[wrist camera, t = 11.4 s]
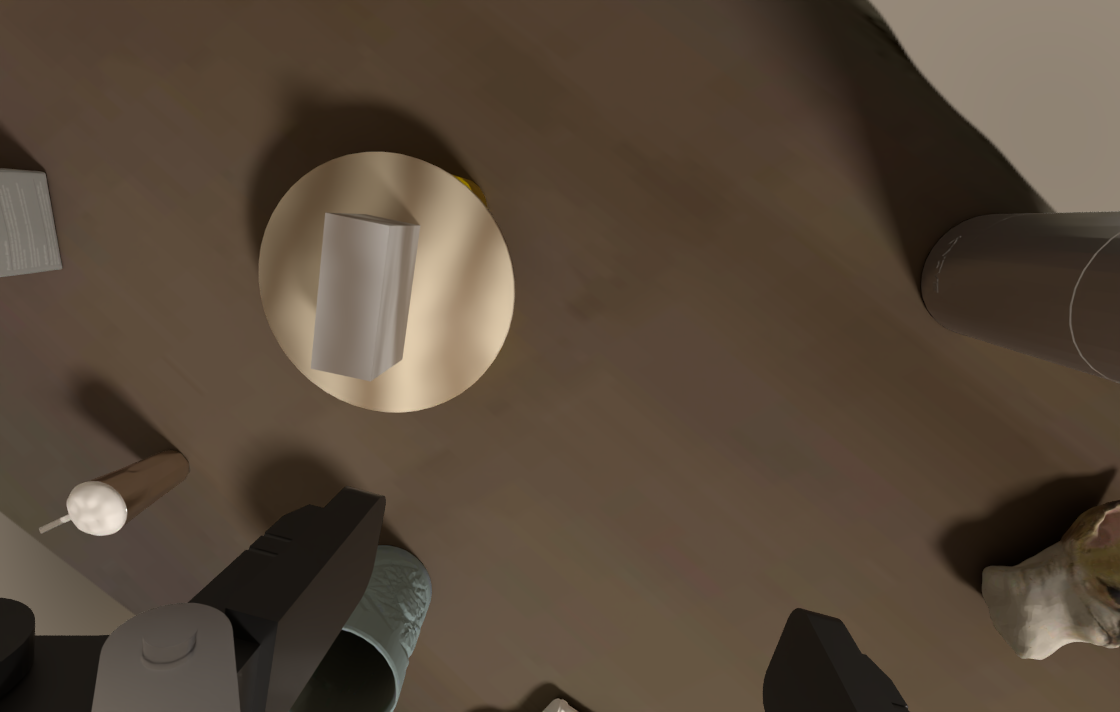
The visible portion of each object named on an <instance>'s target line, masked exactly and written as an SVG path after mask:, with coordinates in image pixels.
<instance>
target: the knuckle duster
mask: <svg viewBox="0 0 1120 712" xmlns="http://www.w3.org/2000/svg"><path fill="white" fill-rule="evenodd" d="M542 712H578V711H577V710H575V709H574V708H572V707H571V706H569V705H568V702H566V701H565V700H563V699H562V700H560V699H559V698H557V699H555V700H553V701H552V702H551V703H550V704H549V705H548V706H547V707H546V708H545V709H544V710H543V711H542Z"/></svg>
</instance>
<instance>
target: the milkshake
mask: <svg viewBox="0 0 1120 712" xmlns="http://www.w3.org/2000/svg"><path fill="white" fill-rule="evenodd" d="M189 472H190V471H189V464H188V461H187V460H186V459H185V457H184V456H183V455H182V454H181V453H179V452H176V451H173V450H171V449H170V450H166V451H162V452H159V453H157V454H154V455H152V456H150V457H147V458H145V459H142V460H140V461H138V462H135V463H133V464H130V465H128V466H126V467H123V468H121V469H119V470H116V471H113V472H110V473H108V474H105V475H103V476H100V477H97V478H95V479H92V480H89V481H87V482H84V483H81V484H79V485H77V486H76V487H74V489H73V490H72V491H71V493H70V495H69V497H68V499H67V509H68V513H69V514H68V515H66V516H64V517H62V518H59V519H57V520H55V521H53V522H51V523H49V524H47V525H45V526H42V527H40V528H39V531H40V532H41V533H44V532H46V531H48V530H50V529H53V528H55V527H57V526H59V525H61V524H63V523H65V522H67V521H69V520H72V521H73V523H74V524H75V525H76V526H77V528H78V529H80V530H81V531H83V532H86V533H89V534H92V535H98V536H103V535H110V534H113V533H115V532H117V531H118V530H120V529H121V528H122V527H123V526H124V525H126V524H127V523H128V522H130V521H131V520H132V519H133V518H135V517H136V516H137V515H138V514H140V513H141V512H142V511H143V510H145V509H146V508H148V507H149V506H150V505H152V504H153V503H154V502H156V501H157V500H158V499H160V498H161V497H162V496H164V495H165V494H166V493H168V492H169V491H170V490H172V489H173V488H175V487H176V486H177V485H179V484H180V483H181V482H183V481H184V480H185V478H186V477H187V475H188V474H189Z"/></svg>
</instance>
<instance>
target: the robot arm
mask: <svg viewBox="0 0 1120 712" xmlns="http://www.w3.org/2000/svg"><path fill="white" fill-rule="evenodd" d="M921 290H922V296H923V300H924V303H925V305H926V308H927V310H928V311H929V313H930V314H931V315H932V317H933V318H934V319H935V320H936V321H937V322H938V323H940V324H941V325H942V326H943V327H945V328H947V329H949V330H951V331H953V332H956V333H959V334H962V335H966V336H969V337H972V338H975V339H979V340H982V341H985V342H988V343H991V344H994V345H997V346H1001V347H1004V348H1007V349H1010V350H1014V351H1017V352H1020V353H1023V354H1027V355H1030V356H1033V357H1036V358H1040V359H1043V360H1046V361H1049V362H1053V363H1056V364H1059V365H1062V366H1066V367H1069V368H1072V369H1075V370H1079V371H1082V372H1085V373H1088V374H1092V375H1095V376H1098V377H1101V378H1105V379H1108V380H1111V381H1114V382H1118V383H1120V211H1119V212H1074V213H1018V214H989V215H983V216H977V217H974V218H972V219H969V220H966V221H964V222H962V223H960V224H959V225H957V226H955V227H954V228H952V229H951V230H949V231H948V232H947V233H946V234H945V235H944V236H943V237H941V238H940V240H939V241H938V242H937V243H936V245H935V246H934V247H933V248H932V250H931V252H930V254H929V256H928V258H927V260H926V262H925V265H924V268H923V272H922V280H921ZM385 505H386V499H385V496H383V495H379V494H375V493H371V492H368V491H364V490H360V489H356V488H353V487H349V486H346V487H344V488H343V489H342V490H341V491H340V492H339V493H338V494H337V495H336V496H335V497H334V498H333V499H332V500H331V501H330V502H329V503H328V504H327V505H326V506H325V507H324V508H321V507H318V506H314V505H310V504H309V505H307V506H305V507H302V508H300V509H298V510H295V511H293V512H291V513H288V514H286V515H284V516H282V517H281V518H280V519H279V520H278V521H277V522H276V523H275V524H274V525H273V526H272V527H270V528H269V529H268V530H267V531H266V532H265V535H264V536H261V537H259V538H258V539H257V540H256V541H255V542H254V543H253V544H252V545H251V546H250V548H249V550H245V551H244V552H243V553H242V554H241V555H240V556H239V557H237V558H236V559H235V560H234V561H233V562H232V563H231V564H230V565H229V566H228V567H226V568H225V569H224V570H223V571H222V572H221V573H220V574H219V575H218V576H217V577H216V578H214V579H213V580H212V581H211V582H210V583H209V584H208V585H207V586H206V587H205V588H203V589H202V590H201V591H200V592H199V593H198V594H197V595H196V596H195V597H194V598H192V599H191V600H190V601H189V602H188V603H177V604H169V605H164V606H160V607H157V608H153V609H150V610H147V611H145V612H143V613H140V614H138V615H136V616H134V617H133V618H131V619H129V620H127V621H126V622H125V623H123V624H122V625H120V626H119V627H118V628H117V629H116V630H114V631H113V632H112V634H111V635H100V636H35V617H34V614H33V612H32V610H31V609H30V608H29V607H28V606H26V605H25V604H23V603H21V602H19V601H15V600H12V599H6V598H0V712H289V710H290V709H291V707H292V706H293V704H294V702H295V701H296V699H297V698H298V696H299V695H300V693H301V692H302V690H303V689H304V687H305V685H306V684H307V682H308V681H309V679H310V678H311V676H312V675H313V673H314V671H315V670H316V668H317V667H318V665H319V664H320V662H321V661H322V659H323V658H324V656H325V654H326V653H327V651H328V650H329V648H330V647H331V645H332V644H333V642H334V641H335V639H336V637H337V636H338V634H339V633H340V631H341V630H342V628H343V627H344V625H345V624H346V622H347V620H348V619H349V617H350V616H351V614H352V613H353V611H354V610H355V608H356V606H357V605H358V603H359V602H360V600H361V599H362V597H363V595H364V593H365V591H366V588H367V586H368V583H369V581H370V578H371V575H372V572H373V568H374V563H375V558H376V553H377V548H378V542H379V537H380V532H381V527H382V522H383V516H384V511H385ZM763 704H764V709H765V712H909V711H908V706H907V704H906V703H905V701H904V699H903V698H902V696H901V695H900V693H899V691H898V690H897V688H896V687H895V685H894V684H893V682H892V680H891V679H890V678H889V677H888V676H887V675H886V674H885V673H884V672H883V671H882V670H881V669H880V668H879V667H878V666H877V665H876V664H875V663H874V662H873V661H872V660H871V659H870V658H869V657H868V656H867V655H865V654H862V653H861V652H860V650H859V648H858V647H857V645H856V643H855V642H854V640H853V638H852V637H851V635H850V633H849V632H848V630H847V628H846V627H845V625H844V624H843V622H842V621H841V620H840V619H838V618H834V617H831V616H827V615H823V614H820V613H816V612H812V611H808V610H805V609H801V608H797V609H795V610H793V611H792V613H791V614H790V616H789V618H788V620H787V623H786V625H785V627H784V630H783V632H782V635H781V637H780V640H779V642H778V645H777V647H776V649H775V652H774V654H773V657H772V659H771V662H770V664H769V666H768V669H767V671H766V674H765V678H764V684H763Z"/></svg>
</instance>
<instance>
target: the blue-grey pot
mask: <svg viewBox="0 0 1120 712" xmlns="http://www.w3.org/2000/svg"><path fill="white" fill-rule="evenodd" d="M431 595H432V587H431V580H430V577H429V574H428V572H427V570H426V568H425V567H424V566H423V564H422V563H421V562H420V561H419V560H418V559H417V558H416V557H415V556H413V555H412V554H411V553H409V552H407V551H406V550H403V549H401V548H398V547H394V546H389V545H378V548H377V553H376V558H375V563H374V568H373V572H372V575H371V578H370V581H369V583H368V586H367V588H366V591H365V593H364V595H363V597H362V599H361V600H360V602H359V603H358V605H357V606H356V608H355V610H354V611H353V613H352V614H351V616H350V617H349V619H348V620H347V622H346V624H345V625H344V627H343V628H342V630H341V631H340V633H339V634H338V636H337V637H336V639H335V641H334V642H333V644H332V645H331V647H330V648H329V650H328V651H327V653H326V654H325V656H324V658H323V659H322V661H321V662H320V664H319V665H318V667H317V668H316V670H315V671H314V673H313V675H312V676H311V678H310V679H309V681H308V682H307V684H306V685H305V687H304V689H303V690H302V692H301V693H300V695H299V696H298V698H297V699H296V701H295V702H294V704H293V706H292V707H291V709H290V710H289V712H393V710H394V708H395V706H396V704H397V701H398V698H399V695H400V691H401V688H402V684H403V681H404V678H405V674H406V668H407V666H408V664H409V660H408V657H409V656H410V655H411V654H412V652H413V650H414V648H415V645H416V642H417V638H418V636H419V634H420V628H421V626H422V623H423V621H424V618H425V615H426V613H427V610H428V607H429V604H430V601H431Z"/></svg>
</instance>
